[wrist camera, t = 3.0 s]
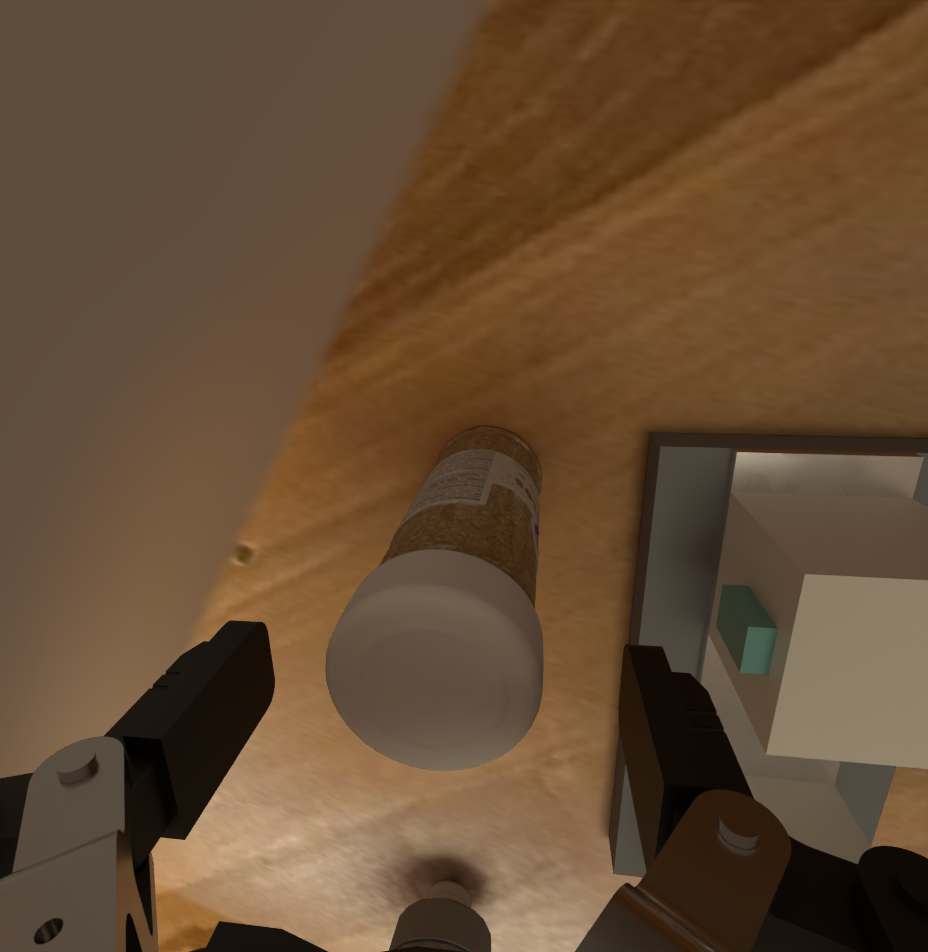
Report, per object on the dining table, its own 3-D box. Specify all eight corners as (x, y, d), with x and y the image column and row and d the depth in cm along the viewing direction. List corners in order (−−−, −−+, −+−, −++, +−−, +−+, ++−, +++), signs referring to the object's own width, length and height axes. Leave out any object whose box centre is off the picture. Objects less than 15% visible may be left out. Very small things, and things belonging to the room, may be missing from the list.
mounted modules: (707, 491, 20) (772, 572, 15) (912, 498, 19) (1065, 586, 14) (653, 866, 26) (684, 1024, 21) (807, 883, 26) (882, 1053, 20)
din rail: (732, 448, 20) (736, 452, 20) (914, 452, 19) (923, 457, 19) (666, 880, 27) (668, 890, 27) (796, 895, 27) (801, 906, 26)
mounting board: (650, 432, 22) (660, 446, 20) (954, 439, 21) (994, 454, 19) (608, 836, 29) (613, 873, 28) (832, 860, 28) (853, 901, 26)
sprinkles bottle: (550, 514, 24) (563, 773, 11) (449, 531, 25) (355, 789, 12) (529, 411, 23) (516, 576, 10) (422, 434, 23) (287, 611, 11)
